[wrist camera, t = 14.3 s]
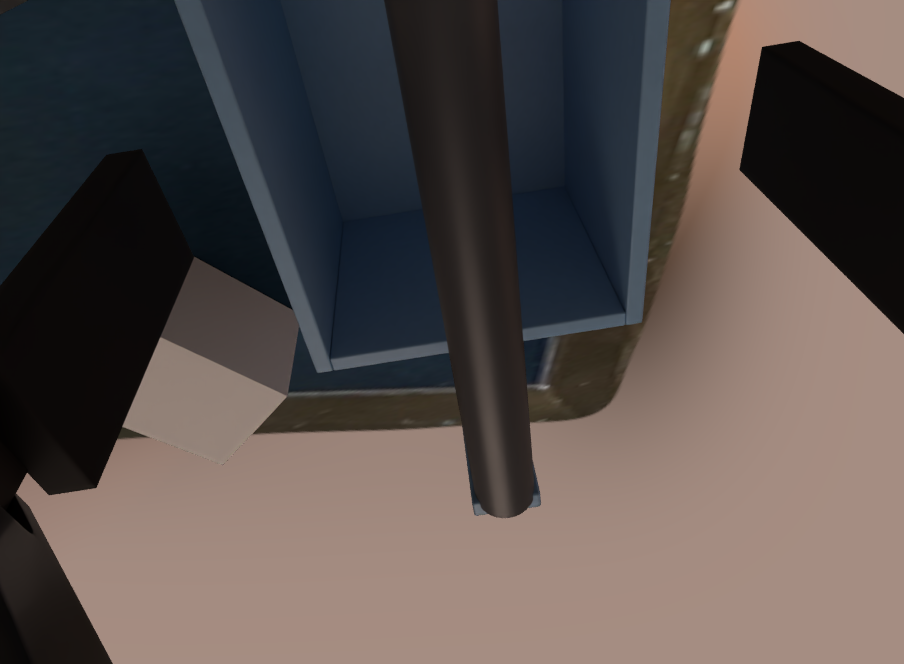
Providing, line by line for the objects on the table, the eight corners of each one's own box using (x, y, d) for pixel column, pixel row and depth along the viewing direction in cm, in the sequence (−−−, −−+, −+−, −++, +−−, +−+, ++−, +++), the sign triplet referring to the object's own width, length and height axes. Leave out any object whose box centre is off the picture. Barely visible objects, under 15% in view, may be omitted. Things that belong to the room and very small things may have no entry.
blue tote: (188, -266, 18) (-287, -458, 5) (572, -334, 18) (1054, -709, 5) (334, 228, 29) (295, 557, 16) (574, 189, 29) (728, 492, 16)
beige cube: (139, 332, 32) (98, 417, 28) (192, 255, 30) (156, 335, 25) (244, 381, 35) (222, 466, 30) (301, 314, 32) (287, 396, 28)
